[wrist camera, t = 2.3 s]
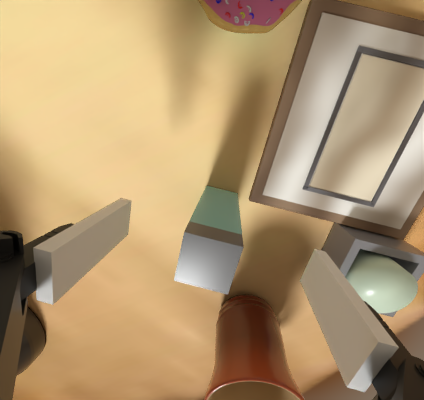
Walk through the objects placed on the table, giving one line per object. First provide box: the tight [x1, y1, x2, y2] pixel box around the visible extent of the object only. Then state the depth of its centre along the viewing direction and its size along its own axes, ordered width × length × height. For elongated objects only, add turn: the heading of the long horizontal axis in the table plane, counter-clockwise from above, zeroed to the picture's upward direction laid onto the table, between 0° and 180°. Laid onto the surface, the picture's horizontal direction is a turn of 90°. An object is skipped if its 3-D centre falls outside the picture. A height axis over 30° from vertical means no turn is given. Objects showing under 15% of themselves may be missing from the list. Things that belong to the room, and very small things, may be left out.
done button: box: [345, 249, 418, 313], centre depth 19 cm, size 5×5×4 cm
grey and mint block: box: [174, 186, 243, 294], centre depth 17 cm, size 3×3×11 cm
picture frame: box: [249, 0, 424, 240], centre depth 18 cm, size 16×17×1 cm
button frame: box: [322, 223, 424, 317], centre depth 21 cm, size 7×7×4 cm
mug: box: [204, 295, 305, 400], centre depth 22 cm, size 12×9×10 cm
